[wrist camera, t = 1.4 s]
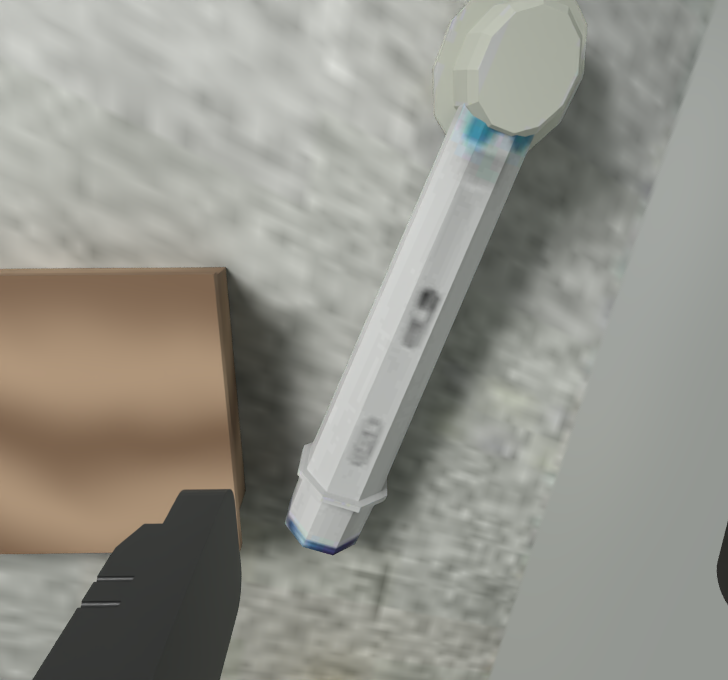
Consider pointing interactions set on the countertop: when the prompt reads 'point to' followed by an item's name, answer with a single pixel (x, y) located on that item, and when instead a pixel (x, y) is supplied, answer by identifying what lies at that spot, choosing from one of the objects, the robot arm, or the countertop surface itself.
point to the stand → (112, 402)
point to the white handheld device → (438, 247)
